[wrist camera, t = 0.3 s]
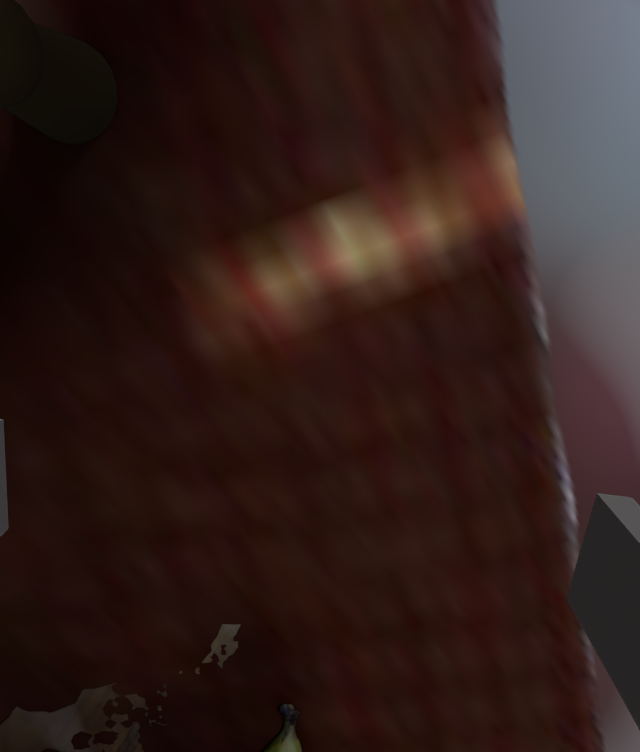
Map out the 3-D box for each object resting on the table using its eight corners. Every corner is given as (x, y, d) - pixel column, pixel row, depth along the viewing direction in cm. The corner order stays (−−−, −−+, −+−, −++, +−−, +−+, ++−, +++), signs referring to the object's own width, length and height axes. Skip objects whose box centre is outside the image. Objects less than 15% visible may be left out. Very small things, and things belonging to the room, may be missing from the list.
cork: (0, 67, 36) (-141, 0, 25) (84, 17, 35) (-25, -74, 24) (54, 161, 37) (-58, 136, 26) (136, 115, 36) (55, 69, 26)
